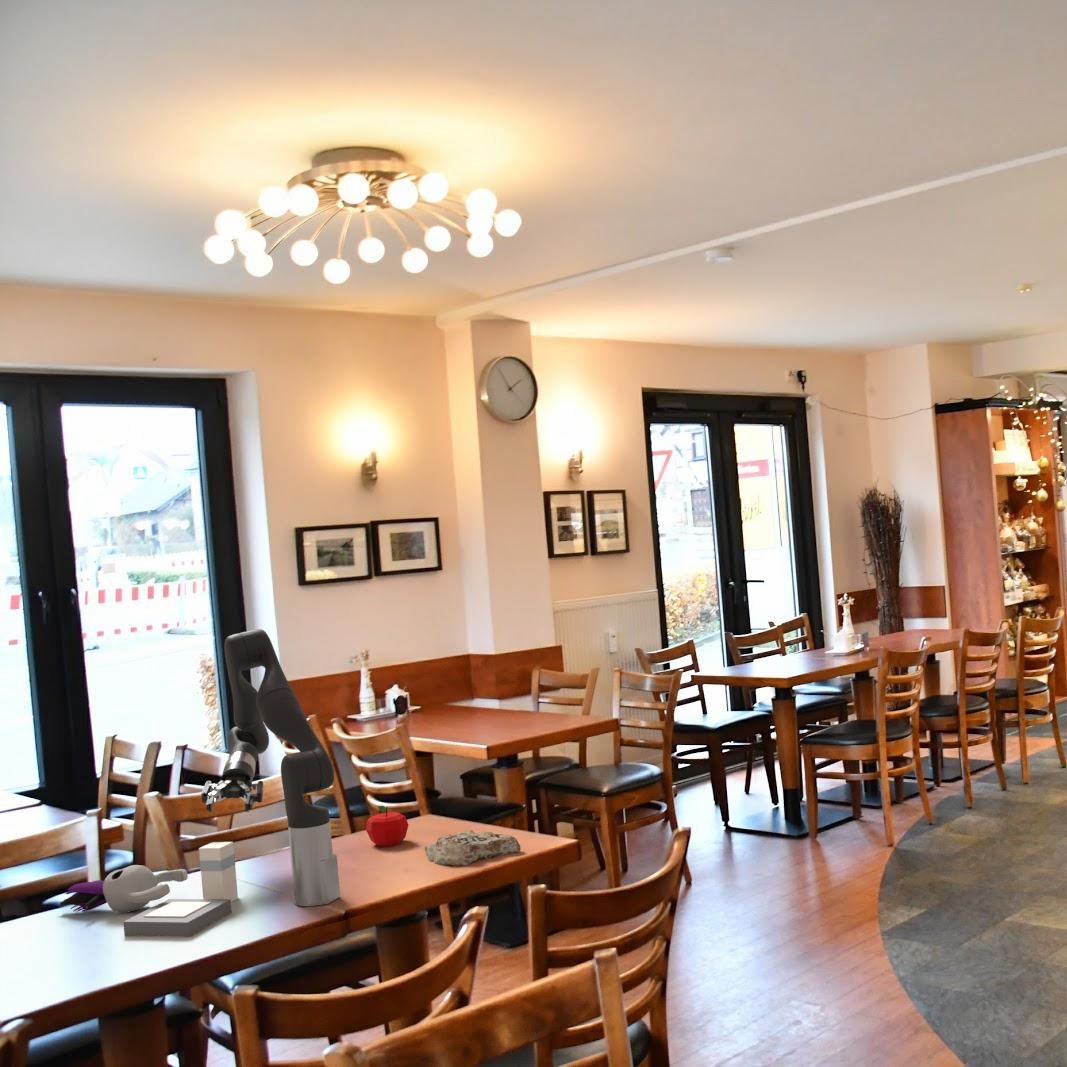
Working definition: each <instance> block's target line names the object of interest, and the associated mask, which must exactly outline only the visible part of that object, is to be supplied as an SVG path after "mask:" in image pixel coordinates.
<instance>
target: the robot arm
mask: <svg viewBox="0 0 1067 1067" xmlns="http://www.w3.org/2000/svg"><path fill="white" fill-rule="evenodd" d="M223 649H224V658H225V662H226V668H227V674H228V680H229V684H230V689H231V690H230V691H231V694H232V701H233V722H234V725H235V726H234V727H232V728H231V729H230V730H229V731H228V734H227V747H228V750H229V751H228V752H229V755H228V759H227V760H226V762H225V765H224V768H223V771H222V774H221V777H220V780H219V782H218V783H212V781H211V780H207V781H206V782H205V784H204V786H203V788H202V790H201V793H200V794H201V803H202V804H203V803H205V805H206V806H205V807H206V810H207V811H208V812H209V813H211V812H213V810H214V806H215V803H217V802H221V801H222V802H223V801H224V800H225V799H241V800H243V802H244V808H245V809H244V810H245V811H244V812H245V813H246V812H249V810H252V809H253V806H254V803H255V802H256V803H262V801H263V796H264V781H262V780H259V781H258V782H257V783H253V780H254V777H255V773H256V764H257V761H258V755H262V754H263V753H264V752H266V751H267V750H268V747H269V744H270V736H269V732H268V730H269V731H270V732H271V733H273V734H274V735H276V736H277V737H279V738H280V739H282V740H284V741H285V742H287V743H289V744H290V745H292V746H293V747H294V748H296V749H297V750H298V752H295V753H289V754H286V755H284V756H283V757H282V760H281V762H280V777H281V784H282V790H283V797H284V807H285V812H286V814H285V815H286V818H287V826H288V837H289V838H288V839H289V850H290V862H291V863H290V864H291V874H292V882H293V884H292V885H293V896H294V903H295V905H296V906H300V907H314V906H316V907H317V906H321V905H329V904H330V903H332V902H333V901H335V900H337V899H339V898H340V897H341V887H340V877H339V866H338V856H337V854H336V853H333V842H332V829H331V815H330V810H329V809H328V808H327V807H325V806H321V805H315V804H310V803H308V802H306V800H305V796H304V795H305V794H310V793H316V792H320V791H324V790H327V789H329V788H331V787H332V786H333V784H334V781H335V770H334V766H333V763H332V760H331V758H330V756H329V754H328V751H327V750H326V749H325V747H324V745H323V744H322V743H321V741H320V740H319V738H318V736H317V735H316V733H315V732H314V730H313V728H312V727H311V725H310V722H309V720H308V719H307V718H306V715H305V713H304V710H303V708H302V706H301V704H300V702H299V700H298V698H297V695H296V694H295V692H294V690H293V689H292V686H291V685H290V683H289V681H288V679H287V677H286V675H285V673H284V670H283V668H282V666H281V664H280V661H279V658H278V656H277V653H276V651H275V648H274V646H273V644H272V640H271V638H270V636H269V634H268V633H267V632H266V631H265V630H264V629H262V628H259V629H258V628H257V629H251V630H248V631H242V632H240V633H235V634H234V633H233V634H232V635H231V634H230V635H229V636H227V637H226V638H225V640H224V648H223ZM260 667H263V668H264V675H263V678H262V680H261V683H260V685H259V688H258V690H257V689H256V688H255V687H254V686H253V685H252V683H250V682H249V681H248V680H247V679H246V677H244V675H243V674H242V671H247V670H251V669H254V668H260ZM267 729H268V730H267ZM253 790H254V792H255V793H254V792H253Z"/></svg>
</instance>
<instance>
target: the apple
mask: <svg viewBox="0 0 1067 1067" xmlns="http://www.w3.org/2000/svg"><path fill="white" fill-rule="evenodd" d="M388 808H389V806H384V805H378V806H377V809H379V811H380V812H381V813H377V814H375V815H372V816H370V817H369V818H368V819H367V820H366V821H367V822H366V826H365V831H366V833H367V835H368V837H369V840H370V841H371V842H372V843H373V844H375V846H377V847H378V848H383V847H385V848H386V847H387V848H388V847H393V846H398V845H399V844H400V843H402V842H403V840H405V838H406V837H407V833H408V829H409V823H408V820H407V818H406V815H404V814H402V813H399V812H397V811H388Z"/></svg>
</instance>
